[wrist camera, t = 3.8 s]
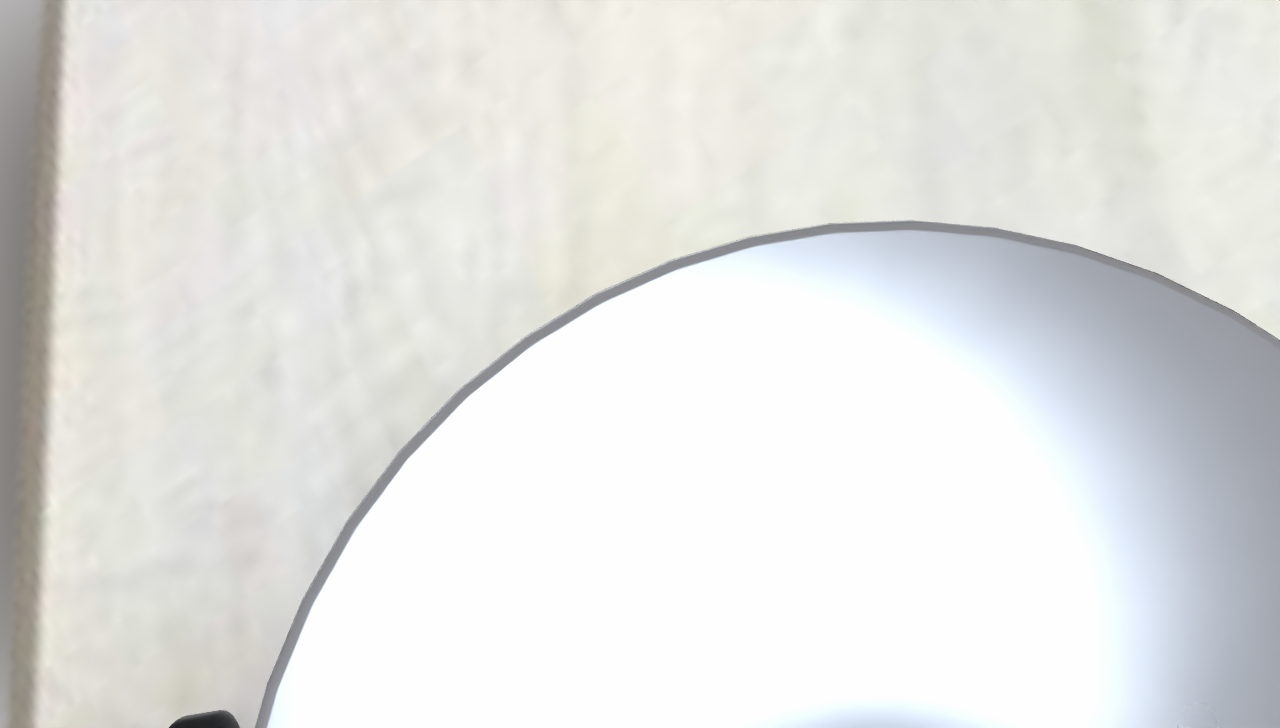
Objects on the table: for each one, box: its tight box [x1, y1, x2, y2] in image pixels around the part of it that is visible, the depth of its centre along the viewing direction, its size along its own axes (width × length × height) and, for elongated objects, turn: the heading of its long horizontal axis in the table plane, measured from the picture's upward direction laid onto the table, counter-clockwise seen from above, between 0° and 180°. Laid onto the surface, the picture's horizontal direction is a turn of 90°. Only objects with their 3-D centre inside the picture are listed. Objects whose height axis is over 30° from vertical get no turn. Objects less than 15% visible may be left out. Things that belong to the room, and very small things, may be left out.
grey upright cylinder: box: [255, 220, 1280, 728], centre depth 11 cm, size 6×6×12 cm
